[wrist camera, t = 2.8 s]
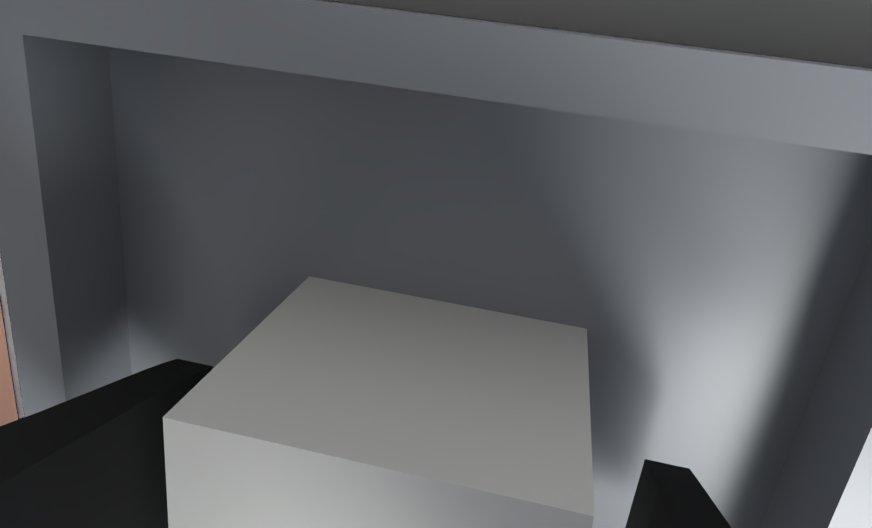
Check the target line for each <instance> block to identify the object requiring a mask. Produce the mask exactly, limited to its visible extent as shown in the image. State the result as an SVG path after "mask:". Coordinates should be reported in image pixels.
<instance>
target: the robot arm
mask: <svg viewBox="0 0 872 528" xmlns="http://www.w3.org/2000/svg"><path fill="white" fill-rule="evenodd" d="M212 369H213V366H209V365H205V364H200V363H196V362H191V361H186V360H182V359H174V360H171V361H168V362H165V363H162V364H159V365H156V366H153V367H151V368H148V369H145V370H143V371H140V372H138V373H135V374H132V375H130V376H127V377H125V378H122V379H120V380H117V381H115V382H112V383H110V384H107V385H105V386H103V387H100V388H98V389H95V390H93V391H90V392H88V393H85V394H83V395H80V396H78V397H75V398H73V399H70V400H68V401H65V402H63V403H60V404H58V405H55V406H53V407H50V408H48V409H45V410H43V411H40V412H38V413H35V414H32V415H30V416H27V417H24V418H21V419H19V420H16V421H13V422H10V423H8V424H5V425H2V426H0V528H169V527H168V509H167V490H166V471H165V452H164V434H163V416H164V415H165V414H166V413H168V412H169V411H170V410H171V409H172V408H173V407H174V406H175V405H176V404H177V403H178V402H179V401H180V400H181V399H182V398H183V397H184V396H185V395H186V394H187V393H188V392H189V391H190V390H191V389H193V388H194V387H195V386H196V385H197V384H198V383H199V382H200V381H201V380H202V379H203V378H204V377H205V376H206V375H207V374H208V373H209V372H210V371H211V370H212ZM625 528H732V527H731V526H730V525H729V523H728V522H727V520H726V519H725V518H724V516H723V515H722V513H721V512H720V511H719V509H718V508H717V506H716V505H715V504H714V502H713V501H712V499H711V498H710V496H709V495H708V494H707V492H706V491H705V489H704V488H703V486H702V485H701V484H700V482H699V481H698V479H697V478H696V477H695V475H694V474H693V473H692V471H691V470H690V469H689V468H684V467H680V466H675V465H671V464H666V463H661V462H657V461H652V460H647V459H645V460H644V464H643V467H642V471H641V474H640V478H639V481H638V485H637V488H636V492H635V495H634V499H633V502H632V506H631V509H630V513H629V516H628V520H627V523H626V527H625Z"/></svg>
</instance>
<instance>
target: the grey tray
mask: <svg viewBox="0 0 872 528" xmlns="http://www.w3.org/2000/svg"><path fill="white" fill-rule="evenodd" d="M0 254H1V261H2V268H3V274H4V281H5V288H6V295H7V301H8V308H9V315H10V322H11V328H12V335H13V342H14V349H15V355H16V362H17V369H18V376H19V382H20V389H21V396H22V403H23V409H24V416H25V417H27V416H30V415H32V414H35V413H38V412H40V411H43V410H45V409H48V408H50V407H53V406H55V405H58V404H60V403H63V402H65V401H68V400H70V399H73V398H75V397H78V396H80V395H83V394H85V393H88V392H90V391H93V390H95V389H98V388H100V387H103V386H105V385H107V384H110V383H112V382H115V381H117V380H120V379H122V378H125V377H127V376H130V375H132V374H135V373H138V372H140V371H143V370H145V369H148V368H151V367H153V366H156V365H159V364H162V363H165V362H168V361H171V360H174V359H182V360H186V361H191V362H196V363H200V364H205V365H209V366H213V368H214V367H215V366H216V365H217V364H219V363H220V362H221V361H222V360H223V359H224V358H225V357H226V356H227V355H228V354H229V353H230V352H231V351H232V350H233V349H234V348H235V347H236V346H237V345H238V344H239V343H240V342H241V341H242V340H243V339H245V338H246V337H247V336H248V335H249V334H250V333H251V332H252V331H253V330H254V329H255V328H256V327H257V326H258V325H259V324H260V323H261V322H262V321H263V320H264V319H265V318H266V317H267V316H268V315H270V314H271V313H272V312H273V311H274V310H275V309H276V308H277V307H278V306H279V305H280V304H281V303H282V302H283V301H284V300H285V299H286V298H287V297H288V296H289V295H290V294H291V293H292V292H293V291H294V290H296V289H297V288H298V287H299V286H300V285H301V284H302V283H303V282H304V281H305V280H306V279H307V278H308V277H309V276H310V277H316V278H321V279H326V280H331V281H337V282H342V283H347V284H353V285H358V286H363V287H369V288H374V289H379V290H384V291H390V292H395V293H400V294H406V295H411V296H416V297H421V298H427V299H432V300H437V301H443V302H448V303H453V304H459V305H464V306H469V307H474V308H480V309H485V310H490V311H496V312H501V313H506V314H511V315H517V316H522V317H527V318H533V319H538V320H543V321H549V322H554V323H559V324H564V325H570V326H575V327H580V328H586V329H587V343H588V368H589V394H590V419H591V444H592V469H593V494H594V520H593V524H592V527H591V528H625V527H626V523H627V520H628V516H629V513H630V509H631V506H632V502H633V499H634V495H635V492H636V488H637V485H638V481H639V478H640V474H641V471H642V467H643V464H644V460H645V459H647V460H652V461H657V462H661V463H666V464H671V465H675V466H680V467H684V468H689V469H690V470H691V471H692V473H693V474H694V475H695V477H696V478H697V479H698V481H699V482H700V484H701V485H702V486H703V488H704V489H705V491H706V492H707V494H708V495H709V496H710V498H711V499H712V501H713V502H714V504H715V505H716V506H717V508H718V509H719V511H720V512H721V513H722V515H723V516H724V518H725V519H726V520H727V522H728V523H729V525H730V526H731V527H732V528H872V68H865V67H857V66H849V65H841V64H833V63H825V62H817V61H809V60H801V59H792V58H784V57H776V56H768V55H760V54H752V53H744V52H736V51H728V50H720V49H712V48H704V47H696V46H688V45H680V44H671V43H663V42H655V41H647V40H639V39H631V38H623V37H615V36H607V35H599V34H591V33H583V32H575V31H567V30H559V29H551V28H542V27H534V26H526V25H518V24H510V23H502V22H494V21H486V20H478V19H470V18H462V17H454V16H446V15H438V14H430V13H421V12H413V11H405V10H397V9H389V8H381V7H373V6H365V5H357V4H349V3H341V2H333V1H325V0H0Z"/></svg>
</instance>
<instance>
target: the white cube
mask: <svg viewBox="0 0 872 528" xmlns="http://www.w3.org/2000/svg"><path fill="white" fill-rule="evenodd" d="M163 434H164V452H165V471H166V490H167V509H168V527H169V528H591V527H592V524H593V520H594V494H593V469H592V444H591V419H590V394H589V368H588V343H587V329H586V328H580V327H575V326H570V325H564V324H559V323H554V322H549V321H543V320H538V319H533V318H527V317H522V316H517V315H511V314H506V313H501V312H496V311H490V310H485V309H480V308H474V307H469V306H464V305H459V304H453V303H448V302H443V301H437V300H432V299H427V298H421V297H416V296H411V295H406V294H400V293H395V292H390V291H384V290H379V289H374V288H369V287H363V286H358V285H353V284H347V283H342V282H337V281H331V280H326V279H321V278H316V277H310V276H309V277H308V278H307V279H306V280H305V281H304V282H303V283H302V284H301V285H300V286H299V287H298V288H297V289H296V290H294V291H293V292H292V293H291V294H290V295H289V296H288V297H287V298H286V299H285V300H284V301H283V302H282V303H281V304H280V305H279V306H278V307H277V308H276V309H275V310H274V311H273V312H272V313H271V314H270V315H268V316H267V317H266V318H265V319H264V320H263V321H262V322H261V323H260V324H259V325H258V326H257V327H256V328H255V329H254V330H253V331H252V332H251V333H250V334H249V335H248V336H247V337H246V338H245V339H243V340H242V341H241V342H240V343H239V344H238V345H237V346H236V347H235V348H234V349H233V350H232V351H231V352H230V353H229V354H228V355H227V356H226V357H225V358H224V359H223V360H222V361H221V362H220V363H219V364H217V365H216V366H215V367H214V368H213V369H212V370H211V371H210V372H209V373H208V374H207V375H206V376H205V377H204V378H203V379H202V380H201V381H200V382H199V383H198V384H197V385H196V386H195V387H194V388H193V389H191V390H190V391H189V392H188V393H187V394H186V395H185V396H184V397H183V398H182V399H181V400H180V401H179V402H178V403H177V404H176V405H175V406H174V407H173V408H172V409H171V410H170V411H169V412H168V413H166V414H165V415H164V416H163Z"/></svg>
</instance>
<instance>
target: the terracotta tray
mask: <svg viewBox="0 0 872 528" xmlns="http://www.w3.org/2000/svg"><path fill="white" fill-rule="evenodd" d="M16 420H18V415H17V408H16V402H15V395H14V389H13V382H12V376H11V369H10V363H9V356H8V350H7V343H6V337H5V330H4V323H3V317H2V310H1V304H0V426H2V425H5V424H8V423H10V422H13V421H16Z"/></svg>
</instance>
